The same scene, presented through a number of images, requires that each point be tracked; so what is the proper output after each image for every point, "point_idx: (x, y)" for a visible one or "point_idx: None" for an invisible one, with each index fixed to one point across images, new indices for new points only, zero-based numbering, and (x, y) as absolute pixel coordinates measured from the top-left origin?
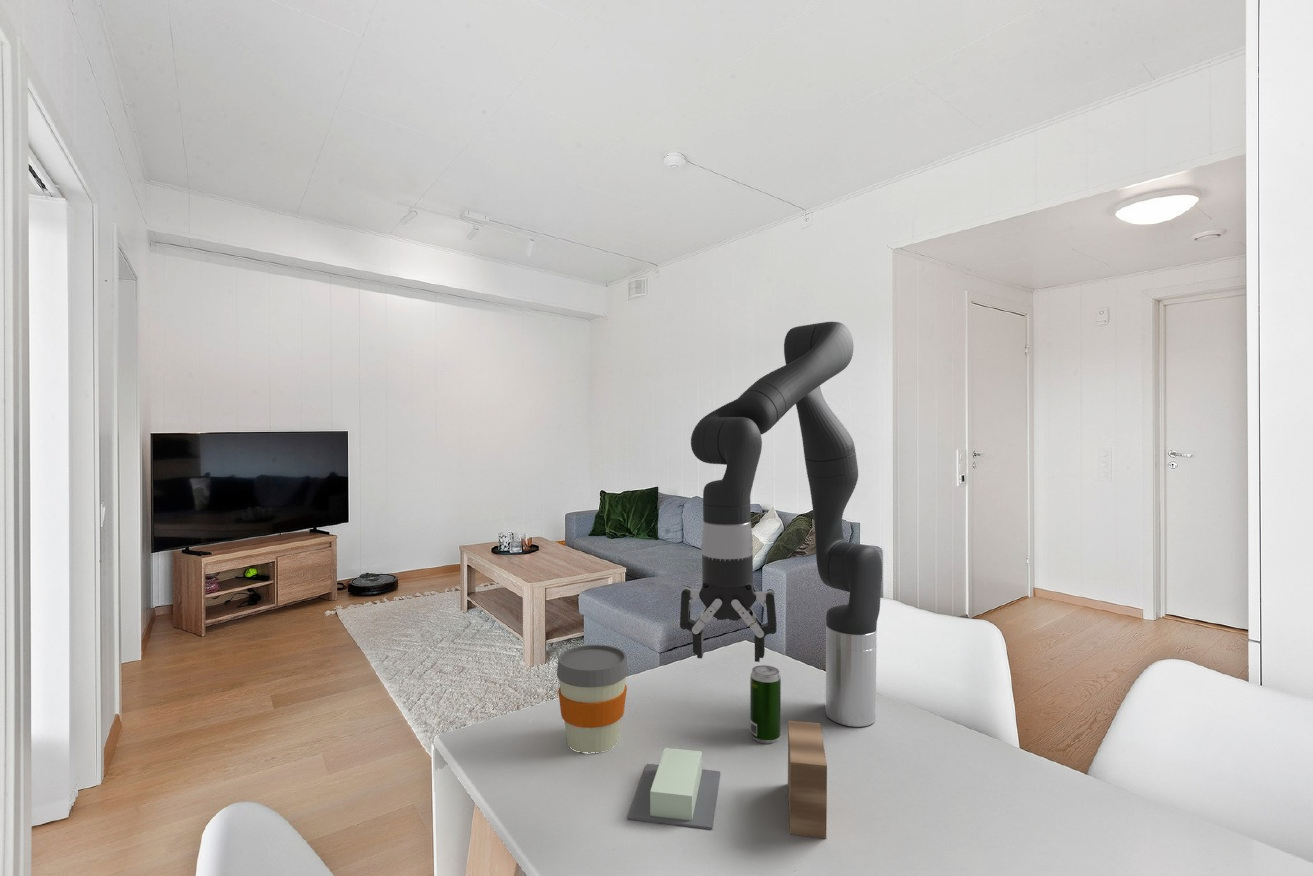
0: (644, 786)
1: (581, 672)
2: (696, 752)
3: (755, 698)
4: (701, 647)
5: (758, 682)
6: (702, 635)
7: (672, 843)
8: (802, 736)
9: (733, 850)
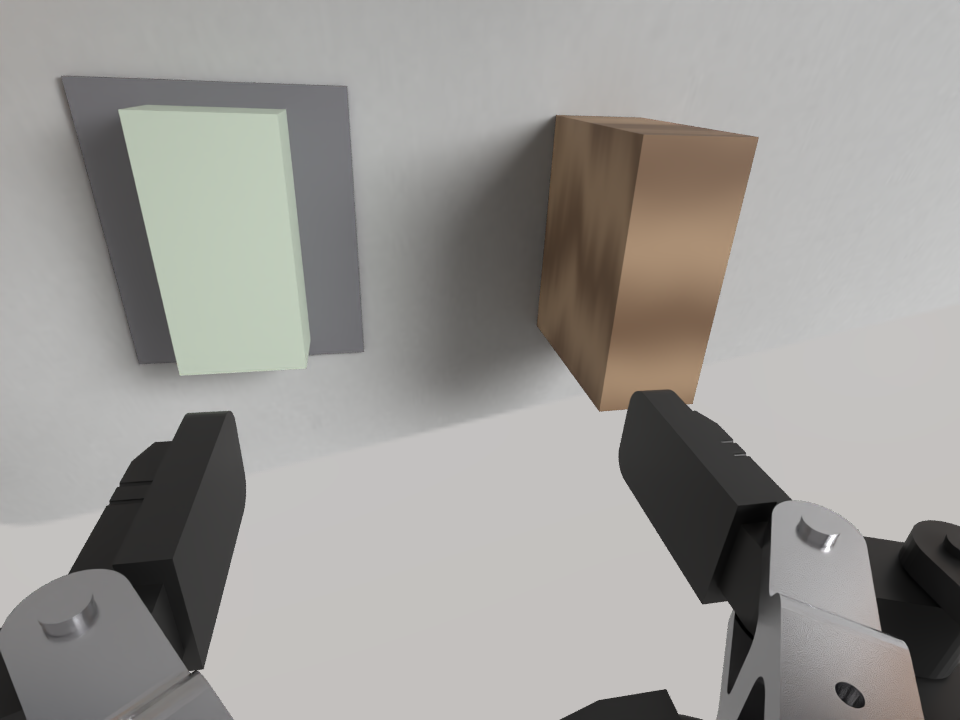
0: (120, 223)
1: None
2: (259, 126)
3: None
4: (228, 564)
5: None
6: (196, 582)
7: (283, 408)
8: (667, 255)
9: (417, 397)
